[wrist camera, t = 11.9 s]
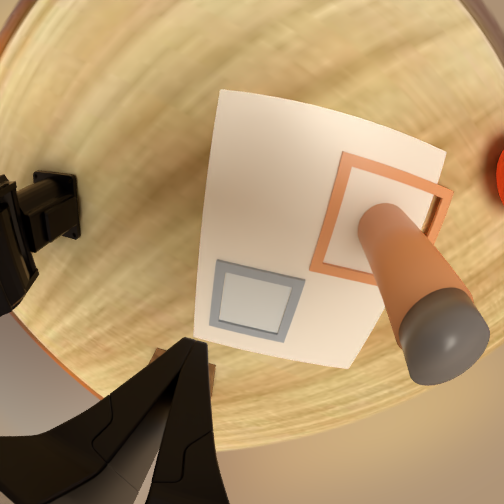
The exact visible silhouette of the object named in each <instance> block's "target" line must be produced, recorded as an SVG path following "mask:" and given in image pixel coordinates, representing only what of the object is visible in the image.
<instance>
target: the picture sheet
mask: <svg viewBox="0 0 504 504" xmlns="http://www.w3.org/2000/svg"><path fill="white" fill-rule="evenodd" d="M445 156H446V152H445V151H443V150H441V149H439V148H437V147H435V146H432V145H430V144H428V143H426V142H423V141H421V140H419V139H416V138H414V137H411V136H409V135H406V134H404V133H401V132H399V131H396V130H393V129H391V128H388V127H385V126H383V125H380V124H377V123H374V122H371V121H368V120H365V119H362V118H359V117H355V116H352V115H349V114H345V113H342V112H338V111H335V110H331V109H327V108H323V107H319V106H315V105H311V104H307V103H302V102H298V101H293V100H288V99H283V98H278V97H273V96H267V95H261V94H255V93H248V92H241V91H233V90H224V89H220V93H219V99H218V105H217V111H216V117H215V124H214V130H213V137H212V144H211V151H210V158H209V166H208V173H207V181H206V190H205V198H204V207H203V216H202V226H201V237H200V247H199V259H198V271H197V285H196V300H195V317H194V337H196V338H199V339H203V340H207V341H210V342H214V343H218V344H222V345H226V346H230V347H234V348H238V349H242V350H247V351H251V352H255V353H260V354H265V355H269V356H274V357H279V358H284V359H289V360H295V361H300V362H306V363H312V364H318V365H324V366H331V367H338V368H345V369H348V368H349V367H350V365H351V364H352V362H353V361H354V359H355V358H356V356H357V354H358V353H359V351H360V350H361V348H362V346H363V345H364V343H365V341H366V340H367V338H368V336H369V335H370V333H371V331H372V330H373V328H374V326H375V324H376V323H377V321H378V319H379V317H380V315H381V314H382V312H383V310H384V308H385V305H384V302H383V299H382V297H381V294H380V291H379V288H378V286H377V283H376V280H375V278H374V275H373V273H372V270H371V267H370V265H369V262H368V260H367V257H366V255H365V253H364V250H363V248H362V245H361V243H360V241H359V238H358V224H359V221H360V219H361V217H362V216H363V214H364V213H365V212H366V211H367V210H368V209H369V208H371V207H373V206H374V205H377V204H381V203H390V204H394V205H396V206H398V207H399V208H400V209H402V210H403V212H404V213H405V214H406V215H407V216H408V217H409V218H410V219H411V220H412V221H413V222H414V223H415V224H416V226H417V227H418V228H419V229H420V230H421V228H422V226H423V223H424V220H425V218H426V215H427V212H428V210H429V207H430V204H431V201H432V198H433V195H436V196H438V197H441V199H440V202H439V204H438V207H437V210H436V213H435V215H434V218H433V221H432V223H431V226H430V228H429V231H428V233H427V236H426V237H427V238H428V239H429V240H430V241H431V243H432V244H433V245H434V243H435V241H436V238H437V236H438V233H439V231H440V229H441V226H442V224H443V221H444V218H445V216H446V213H447V210H448V208H449V205H450V202H451V199H452V196H453V193H454V191H452V190H450V189H447V188H445V187H443V186H440V185H438V184H437V183H438V180H439V177H440V174H441V170H442V167H443V163H444V160H445Z"/></svg>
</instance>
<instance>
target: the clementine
mask: <svg viewBox="0 0 504 504" xmlns="http://www.w3.org/2000/svg"><path fill="white" fill-rule="evenodd" d="M496 180H497V187H498V193H499V196H500V198H501V201H502V203H503V205H504V150H503V151H502V153H501V155H500V157H499V160H498V164H497V171H496Z"/></svg>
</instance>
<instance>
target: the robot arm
mask: <svg viewBox="0 0 504 504" xmlns="http://www.w3.org/2000/svg"><path fill="white" fill-rule="evenodd" d="M33 180H34V184H32V185H30V186H27V187H25V188H23V189H21V190H19V191H16V188H17V186H16V181H12V182H9V180H8V179H7V178H6V176H5V175H4V174H3V175H0V317H1V316H2V315H4V314H7V313H9V312H11V311H12V310H13V309H14V308H16V307H17V306H18V305H19V304H20V302H21V301H22V299H23V298H24V296H25V295H26V293H27V292H28V290H29V289H30V287H31V286H32V284H33V283H34V281H35V280H36V278H37V277H38V275H39V272H38V269H37V268H36V266H35V263H34V259H33V256H32V253H33V252H34V253H36V252H37V251H39V250H40V249H41V248H43V247H44V246H46V245H47V244H48V243H51V242H53V241H54V240H55V239H57V238H58V237H60V236H61V235H62V236H65V237H68V238H72V239H75V240H76V239H78V238H79V237H80V228H79V218H78V206H77V191H76V178H75V176H74V175H72V174H64V173H56V172H47V171H36V172H34V174H33ZM158 450H159V452H158ZM157 452H158V456H157V461H156V465H155V469H154V473H153V477H152V483H151V487H150V490H149V494H148V497H147V500H146V502H145V504H230V503H229V500H228V497H227V494H226V491H225V487H224V484H223V480H222V477H221V474H220V470H219V466H218V461H217V457H216V450H215V443H214V433H213V422H212V410H211V396H210V381H209V364H208V345H207V343H205V342H201V341H196V340H194V339H191V338H187V337H184V338H182V339H181V340H180V341H178V342H177V343H176V344H174V345H173V346H172V347H171V348H169V349H168V350H167V351H165V352H164V353H163V354H162V355H160V356H159V357H158V358H156V359H155V360H154V361H153V362H151V363H150V364H149V365H147V366H146V367H145V368H143V369H142V370H141V371H140V372H138V373H137V374H136V375H134V376H133V377H132V378H130V379H129V380H128V381H126V382H125V383H124V384H122V385H121V386H120V387H118V388H117V389H116V390H114V391H113V392H112V393H110V395H108V396H106V397H105V398H104V399H102V400H101V401H100V402H98V403H97V404H95V405H94V406H92V407H91V408H89V409H88V410H86V411H84V412H83V413H81V414H79V415H78V416H76V417H74V418H72V419H70V420H68V421H66V422H64V423H63V424H61V425H59V426H57V427H55V428H53V429H51V430H49V431H47V432H44V433H42V434H38V435H32V436H0V504H133V503H134V501H135V499H136V497H137V495H138V491H139V490H140V488H141V486H142V484H143V482H144V480H145V478H146V475H147V473H148V471H149V469H150V467H151V465H152V462H153V461H154V458H155V456H156V454H157Z"/></svg>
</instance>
